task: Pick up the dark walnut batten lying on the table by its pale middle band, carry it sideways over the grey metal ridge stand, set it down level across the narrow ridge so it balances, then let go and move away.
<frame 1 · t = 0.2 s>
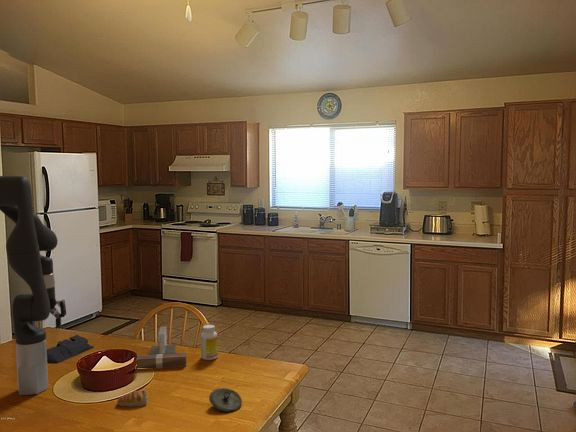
hand: (45, 328, 180), 17 cm above the table, tool pointing down, fingers open, 8 cm apart
supplement bottle: (209, 357, 197), on the table
pastry: (135, 404, 158), on the table
batten: (159, 366, 188), on the table
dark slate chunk: (64, 354, 203), on the table
lid: (225, 406, 156), on the table
ridge stand: (162, 354, 201), on the table
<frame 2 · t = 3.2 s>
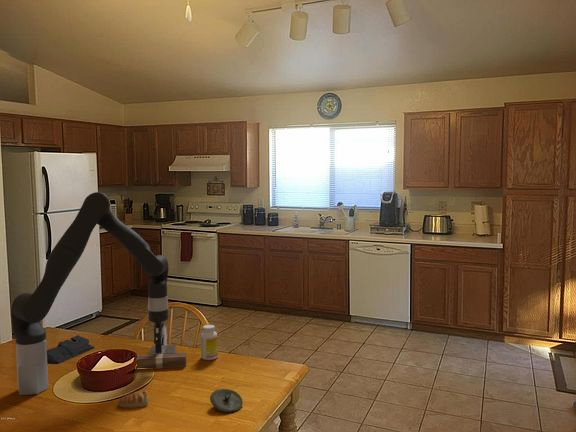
hand: (159, 348, 188), 7 cm above the table, tool pointing down, fingers open, 8 cm apart
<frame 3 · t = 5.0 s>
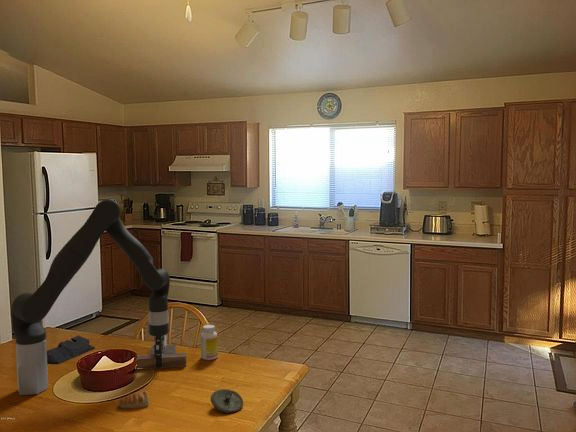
hand: (159, 364, 188), 1 cm above the table, tool pointing down, fingers closed on batten, 4 cm apart
batten: (159, 366, 188), on the table, touching gripper
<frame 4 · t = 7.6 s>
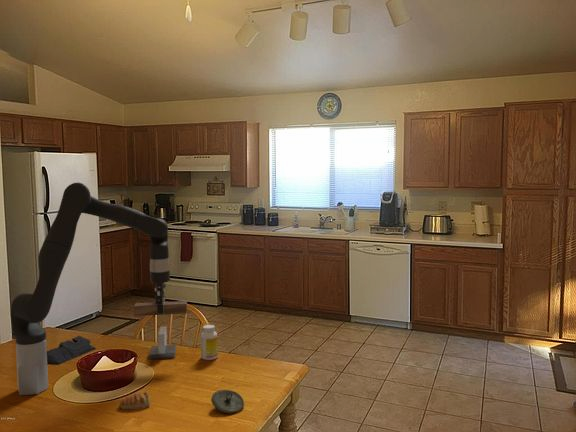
hand: (161, 312, 193), 20 cm above the table, tool pointing down, fingers closed on batten, 4 cm apart
batten: (161, 313, 193), point 19 cm above the table, touching gripper
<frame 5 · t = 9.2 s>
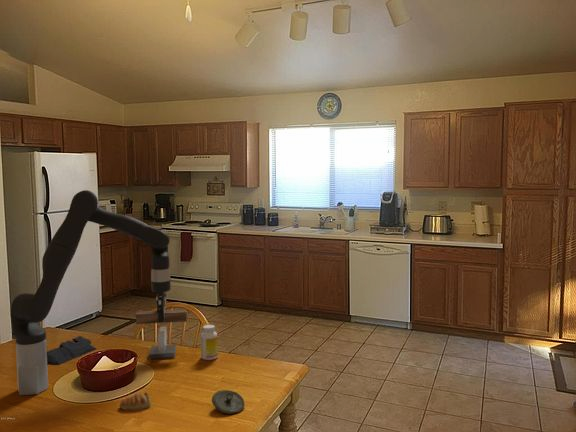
hand: (161, 320, 200), 14 cm above the table, tool pointing down, fingers closed on batten, 4 cm apart
batten: (162, 321, 200), point 14 cm above the table, touching gripper
when the fingers open (12 cm above the table, at t = 10.6 s): batten drops 1 cm, resting on ridge stand.
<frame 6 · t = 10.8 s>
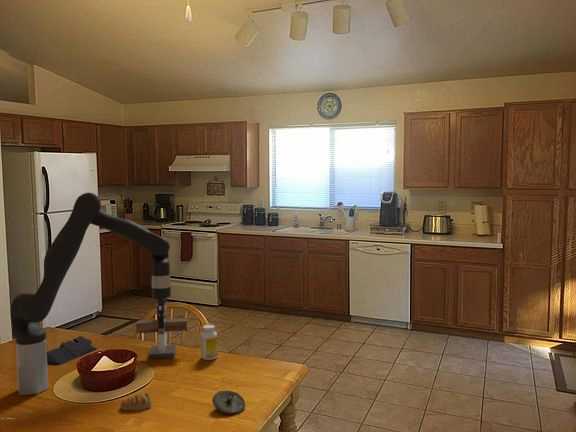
hand: (162, 325, 200), 12 cm above the table, tool pointing down, fingers open, 5 cm apart
batten: (162, 330, 200), point 10 cm above the table, touching ridge stand
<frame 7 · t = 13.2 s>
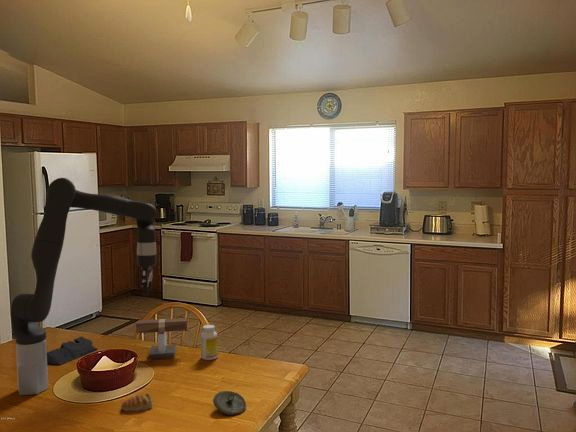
hand: (146, 293, 195), 26 cm above the table, tool pointing down, fingers open, 8 cm apart
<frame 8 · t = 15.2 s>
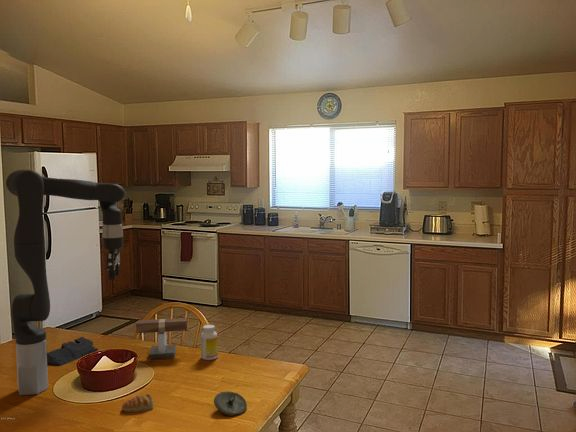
hand: (114, 277, 189), 34 cm above the table, tool pointing down, fingers open, 8 cm apart
at the end: batten 0.0 cm off-centre on the ridge stand, point 10.0 cm above the ridge stand's base; batten tilted 0°; batten touching ridge stand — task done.
